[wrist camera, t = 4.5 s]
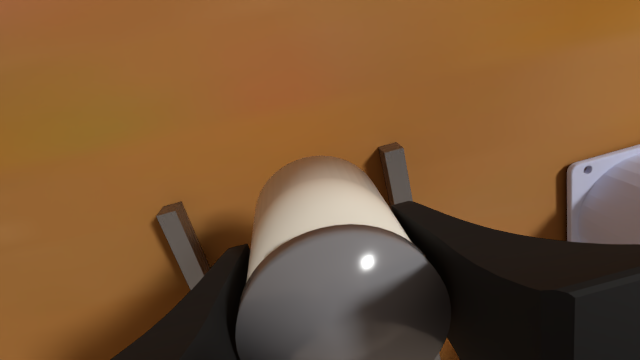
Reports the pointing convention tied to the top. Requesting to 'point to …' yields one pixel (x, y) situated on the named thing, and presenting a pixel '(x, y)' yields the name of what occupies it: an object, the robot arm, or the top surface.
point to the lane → (189, 246)
